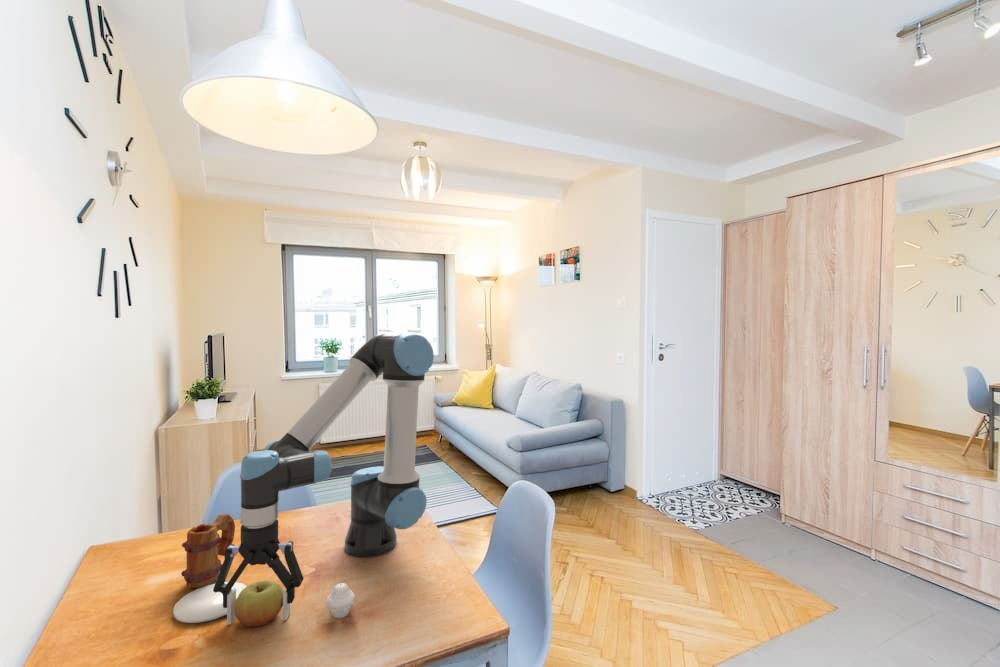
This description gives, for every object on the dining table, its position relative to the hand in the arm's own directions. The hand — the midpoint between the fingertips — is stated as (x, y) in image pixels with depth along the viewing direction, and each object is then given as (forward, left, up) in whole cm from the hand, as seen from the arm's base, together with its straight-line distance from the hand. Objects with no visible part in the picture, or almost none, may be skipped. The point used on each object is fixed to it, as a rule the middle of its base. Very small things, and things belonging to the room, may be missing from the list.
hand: (259, 618), depth 103 cm
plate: (+13, -7, 0) cm, 15 cm away
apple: (0, 0, 0) cm, 0 cm away
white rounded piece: (-18, 0, 0) cm, 18 cm away
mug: (+19, -20, 0) cm, 27 cm away
